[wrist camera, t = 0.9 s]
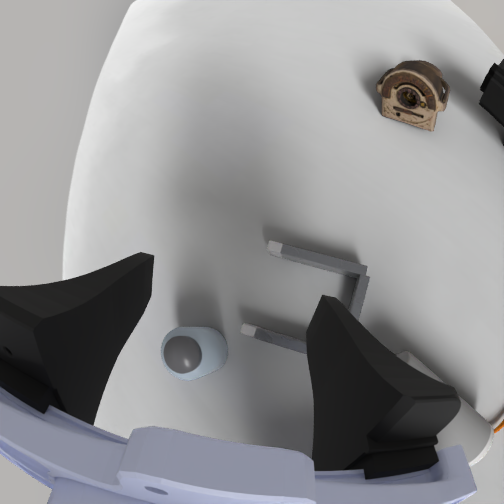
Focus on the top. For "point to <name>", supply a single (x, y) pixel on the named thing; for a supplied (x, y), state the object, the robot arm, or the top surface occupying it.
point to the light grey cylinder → (193, 352)
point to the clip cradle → (319, 262)
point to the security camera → (494, 92)
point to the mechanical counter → (413, 93)
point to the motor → (460, 423)
